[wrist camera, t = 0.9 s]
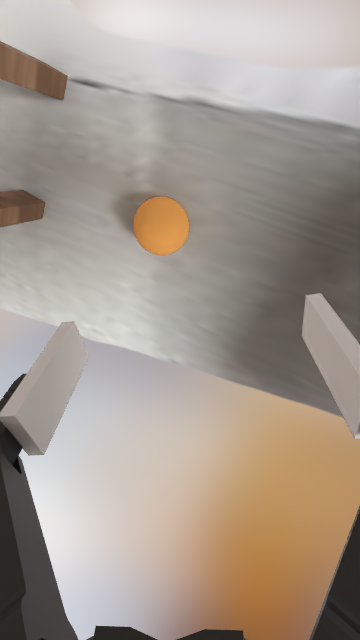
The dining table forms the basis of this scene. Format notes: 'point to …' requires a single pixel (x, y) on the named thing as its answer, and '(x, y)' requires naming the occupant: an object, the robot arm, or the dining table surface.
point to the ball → (161, 225)
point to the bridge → (46, 80)
